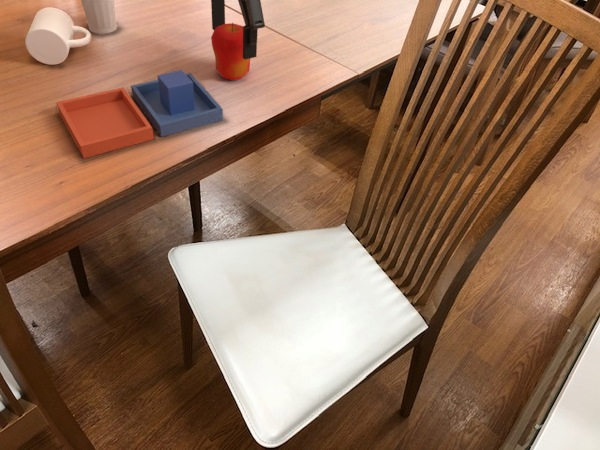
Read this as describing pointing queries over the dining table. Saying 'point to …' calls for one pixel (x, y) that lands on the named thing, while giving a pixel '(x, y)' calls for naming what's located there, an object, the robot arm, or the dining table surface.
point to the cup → (100, 15)
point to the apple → (230, 51)
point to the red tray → (104, 122)
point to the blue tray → (170, 124)
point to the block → (176, 92)
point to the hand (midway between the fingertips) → (233, 42)
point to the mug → (53, 36)
